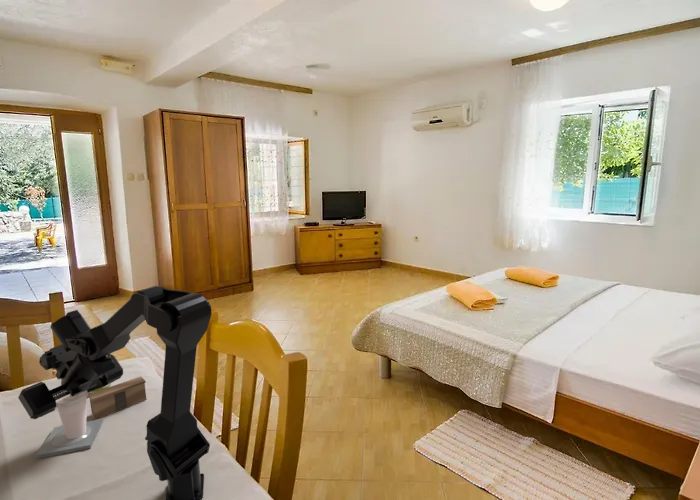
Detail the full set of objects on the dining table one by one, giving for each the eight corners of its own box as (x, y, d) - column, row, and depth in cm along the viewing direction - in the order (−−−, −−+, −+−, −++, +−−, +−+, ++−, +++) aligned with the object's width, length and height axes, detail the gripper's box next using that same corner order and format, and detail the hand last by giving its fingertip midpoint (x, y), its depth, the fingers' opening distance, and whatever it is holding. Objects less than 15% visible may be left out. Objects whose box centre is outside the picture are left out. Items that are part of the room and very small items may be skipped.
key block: (147, 399, 107) (145, 380, 105) (94, 420, 98) (91, 399, 97) (143, 395, 109) (140, 376, 108) (90, 414, 100) (87, 394, 99)
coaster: (90, 448, 88) (90, 444, 88) (37, 458, 85) (36, 454, 85) (103, 422, 97) (102, 418, 97) (55, 430, 94) (54, 426, 94)
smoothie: (59, 446, 87) (49, 388, 84) (59, 431, 92) (50, 376, 90) (93, 435, 91) (85, 379, 88) (92, 421, 96) (84, 368, 93)
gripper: (109, 321, 93) (86, 356, 99) (14, 353, 76) (-5, 393, 83) (135, 359, 91) (110, 392, 97) (44, 400, 74) (22, 437, 81)
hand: (63, 401), depth 90 cm, fingers open, 9 cm apart
